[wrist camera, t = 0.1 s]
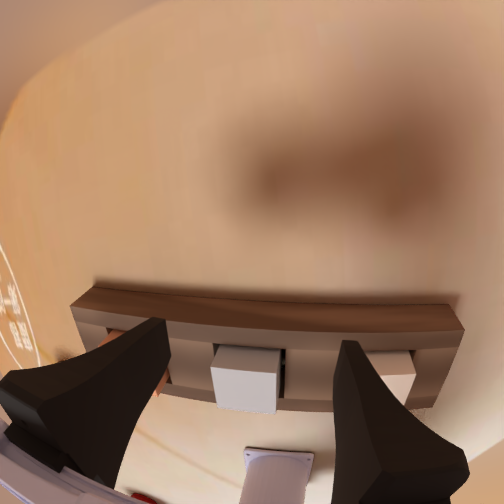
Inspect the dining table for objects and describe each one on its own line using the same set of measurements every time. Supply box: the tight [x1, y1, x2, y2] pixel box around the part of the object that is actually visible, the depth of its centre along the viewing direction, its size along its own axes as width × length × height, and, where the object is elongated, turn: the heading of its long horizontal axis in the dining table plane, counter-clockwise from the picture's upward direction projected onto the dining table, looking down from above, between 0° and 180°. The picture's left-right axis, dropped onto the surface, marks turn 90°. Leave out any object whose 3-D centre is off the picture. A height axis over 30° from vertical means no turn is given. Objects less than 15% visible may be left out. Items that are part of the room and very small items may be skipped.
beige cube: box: [364, 350, 416, 405], centre depth 19 cm, size 4×4×4 cm
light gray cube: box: [210, 344, 282, 414], centre depth 21 cm, size 4×4×4 cm
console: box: [70, 287, 465, 412], centre depth 23 cm, size 8×30×4 cm, turn 92°
